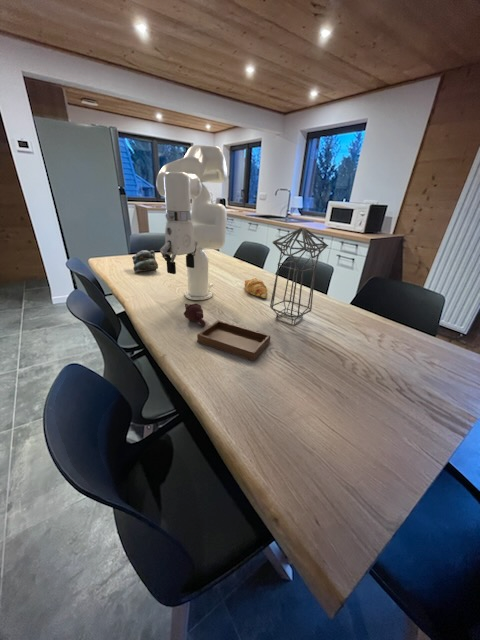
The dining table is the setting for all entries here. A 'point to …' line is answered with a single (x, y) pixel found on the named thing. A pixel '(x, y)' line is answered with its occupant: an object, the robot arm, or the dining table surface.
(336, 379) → the dining table surface
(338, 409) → the dining table surface
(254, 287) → the croissant
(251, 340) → the tray
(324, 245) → the geometric lantern
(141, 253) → the grey lumpy block
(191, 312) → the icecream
